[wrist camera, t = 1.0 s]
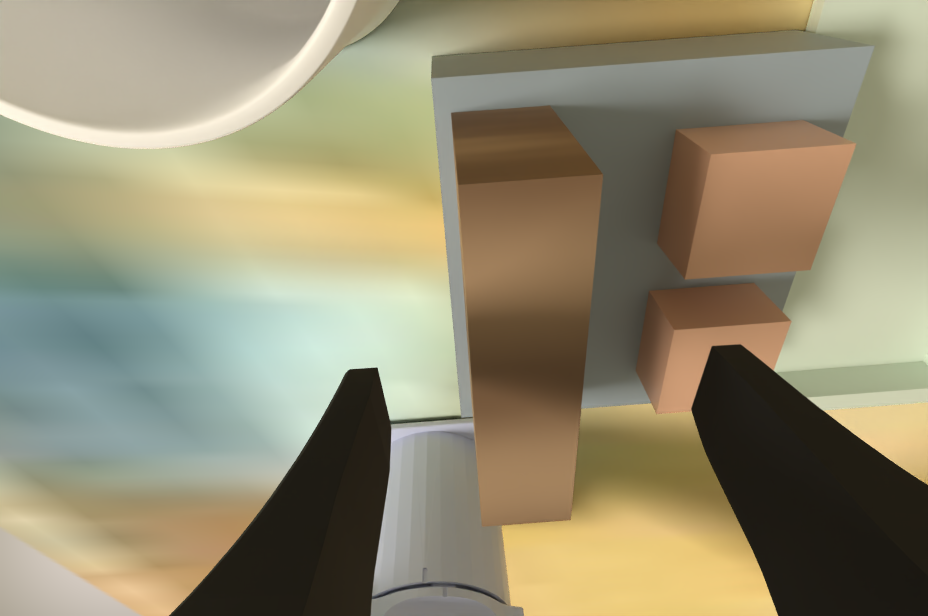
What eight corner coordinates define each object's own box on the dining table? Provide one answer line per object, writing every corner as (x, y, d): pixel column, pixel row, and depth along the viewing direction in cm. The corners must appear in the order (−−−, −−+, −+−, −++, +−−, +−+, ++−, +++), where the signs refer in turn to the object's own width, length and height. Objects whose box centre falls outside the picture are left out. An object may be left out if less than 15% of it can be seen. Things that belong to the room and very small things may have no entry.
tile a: (729, 363, 22) (760, 406, 20) (635, 370, 22) (656, 413, 20) (753, 282, 20) (791, 321, 18) (648, 290, 20) (674, 330, 18)
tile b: (768, 234, 18) (810, 269, 16) (657, 243, 18) (684, 279, 16) (802, 119, 16) (856, 143, 14) (675, 129, 16) (711, 154, 14)
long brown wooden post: (540, 395, 22) (570, 520, 17) (471, 400, 22) (481, 526, 17) (550, 105, 16) (603, 174, 11) (450, 112, 16) (458, 185, 11)
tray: (924, 367, 28) (963, 399, 26) (708, 383, 28) (729, 417, 26) (1196, -102, 17) (1302, -111, 15) (834, -76, 17) (891, -81, 15)
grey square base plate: (713, 340, 26) (753, 395, 23) (458, 359, 26) (461, 417, 23) (796, 29, 18) (875, 45, 15) (431, 56, 18) (431, 78, 15)
